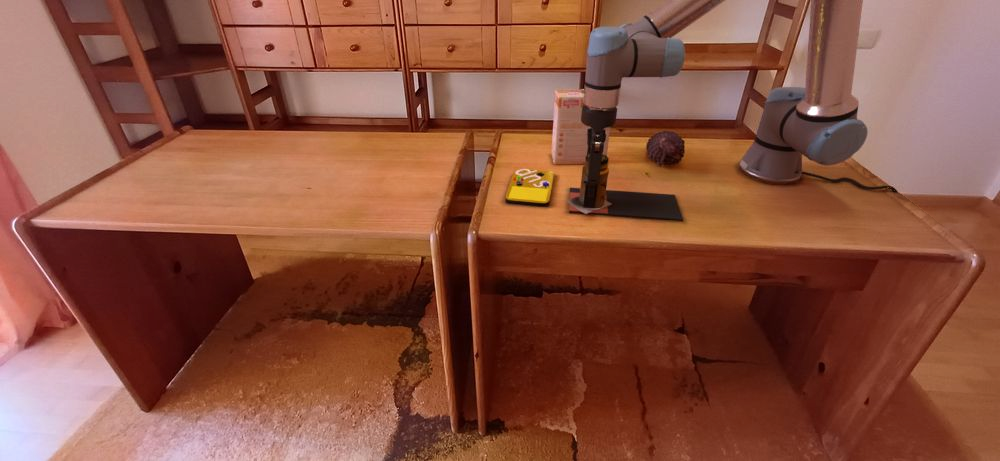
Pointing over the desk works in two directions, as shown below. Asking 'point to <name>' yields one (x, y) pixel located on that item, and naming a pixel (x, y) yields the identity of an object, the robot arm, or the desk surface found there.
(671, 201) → the desk mat
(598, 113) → the robot arm
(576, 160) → the coffeecake box
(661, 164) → the pine cone
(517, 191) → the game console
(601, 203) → the condiment
